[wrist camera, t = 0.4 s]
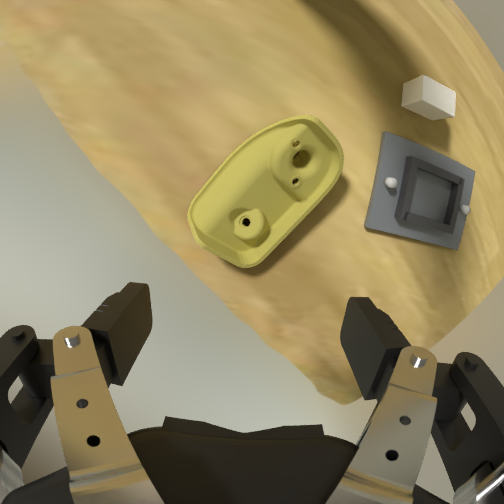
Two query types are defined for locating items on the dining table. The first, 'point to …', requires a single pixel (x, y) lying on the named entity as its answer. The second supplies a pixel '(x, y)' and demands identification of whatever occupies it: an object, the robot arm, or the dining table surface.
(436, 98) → the block
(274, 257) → the dining table surface
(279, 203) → the plastic component
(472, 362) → the robot arm
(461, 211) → the housing plate
